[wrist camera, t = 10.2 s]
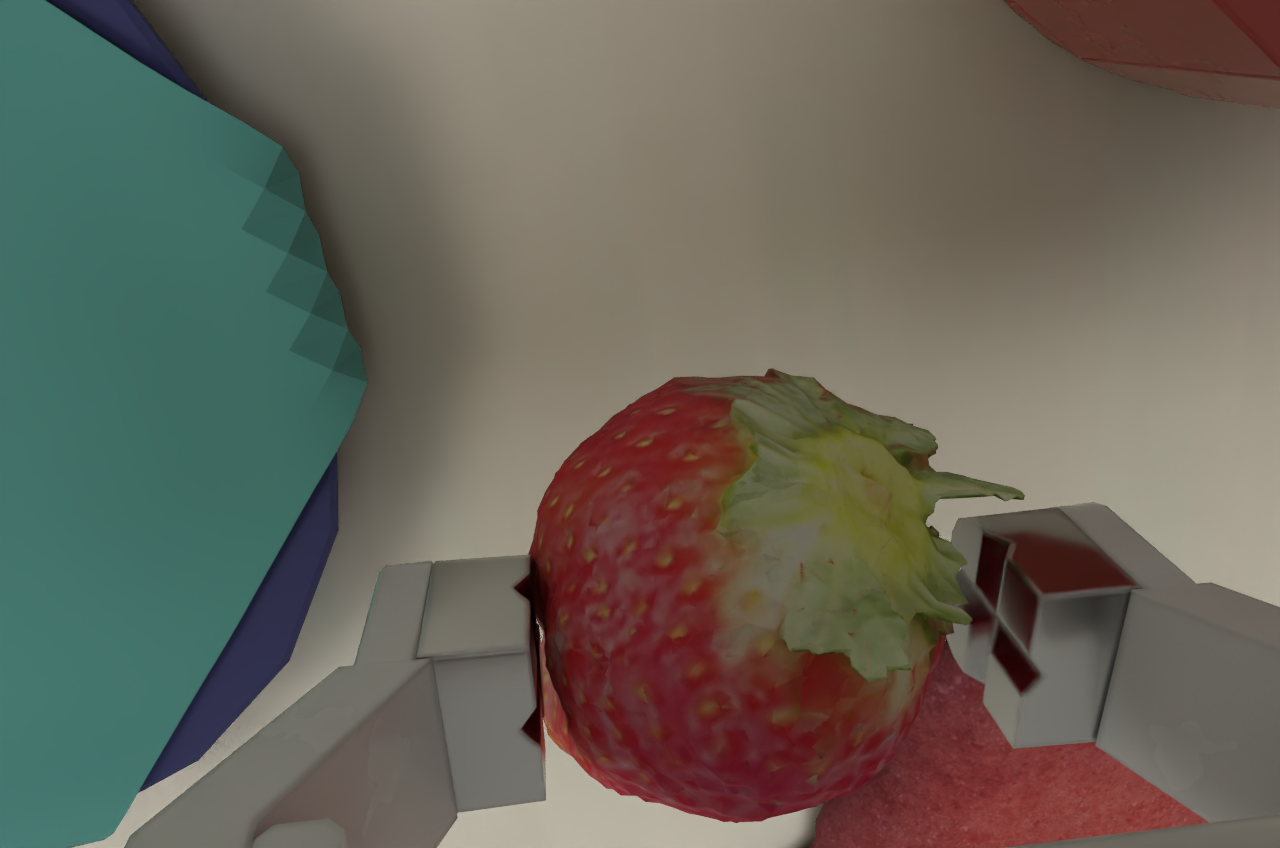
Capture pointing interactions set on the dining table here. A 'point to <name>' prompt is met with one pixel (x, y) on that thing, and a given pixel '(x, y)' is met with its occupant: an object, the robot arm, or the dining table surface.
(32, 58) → the cutlery set
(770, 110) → the dining table surface
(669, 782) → the fruit
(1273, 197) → the dining table surface
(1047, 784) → the patty
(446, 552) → the dining table surface
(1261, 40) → the pan
